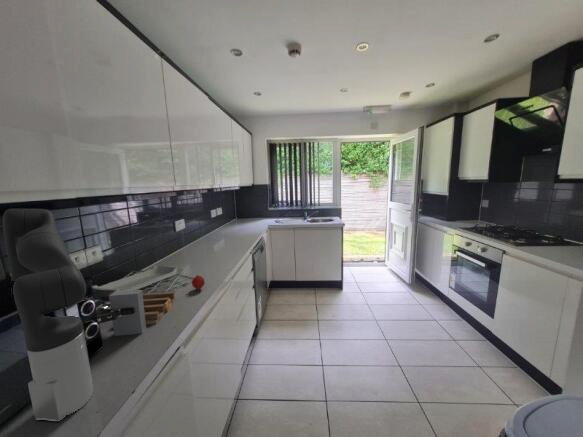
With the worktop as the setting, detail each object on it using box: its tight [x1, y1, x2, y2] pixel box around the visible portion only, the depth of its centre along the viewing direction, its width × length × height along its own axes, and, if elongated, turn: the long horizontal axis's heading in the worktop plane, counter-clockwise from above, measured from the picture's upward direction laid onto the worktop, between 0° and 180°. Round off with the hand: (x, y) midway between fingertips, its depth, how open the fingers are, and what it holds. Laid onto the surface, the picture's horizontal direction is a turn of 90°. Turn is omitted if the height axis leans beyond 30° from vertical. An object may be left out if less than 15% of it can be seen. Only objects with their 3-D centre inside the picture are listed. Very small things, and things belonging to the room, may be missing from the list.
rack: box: [142, 291, 177, 325], centre depth 95 cm, size 20×15×4 cm
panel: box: [108, 289, 147, 337], centre depth 81 cm, size 3×9×15 cm, turn 97°
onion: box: [191, 274, 205, 291], centre depth 114 cm, size 6×6×8 cm
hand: (136, 307), depth 81 cm, fingers open, 3 cm apart
